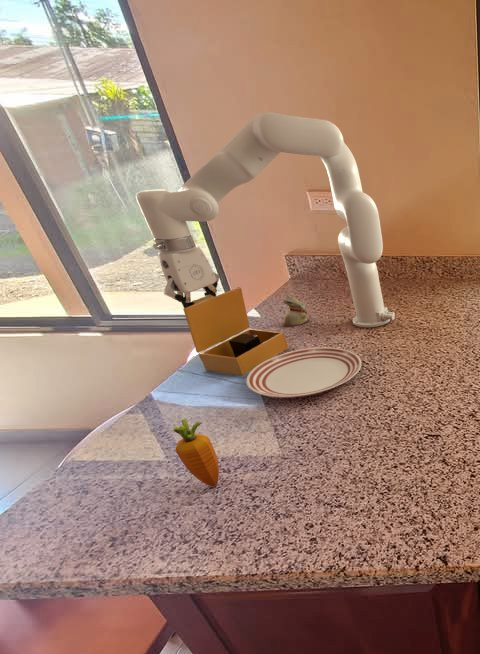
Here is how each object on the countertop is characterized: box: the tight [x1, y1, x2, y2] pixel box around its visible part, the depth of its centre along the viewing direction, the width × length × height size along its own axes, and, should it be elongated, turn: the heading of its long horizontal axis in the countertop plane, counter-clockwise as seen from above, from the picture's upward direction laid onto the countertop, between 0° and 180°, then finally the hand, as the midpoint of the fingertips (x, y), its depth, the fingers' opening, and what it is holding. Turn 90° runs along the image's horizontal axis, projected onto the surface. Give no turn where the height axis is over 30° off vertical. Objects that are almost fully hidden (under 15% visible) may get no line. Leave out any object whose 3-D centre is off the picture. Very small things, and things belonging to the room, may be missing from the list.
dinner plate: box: [245, 346, 362, 399], centre depth 113 cm, size 28×27×3 cm
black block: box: [229, 334, 261, 358], centre depth 120 cm, size 5×5×6 cm
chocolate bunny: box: [282, 294, 308, 327], centre depth 143 cm, size 6×8×10 cm
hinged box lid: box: [182, 286, 250, 354], centre depth 116 cm, size 13×17×6 cm
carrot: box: [172, 418, 220, 488], centre depth 76 cm, size 5×5×15 cm
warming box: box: [198, 327, 289, 377], centre depth 120 cm, size 12×17×6 cm
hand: (204, 310), depth 116 cm, fingers closed on hinged box lid, 6 cm apart
